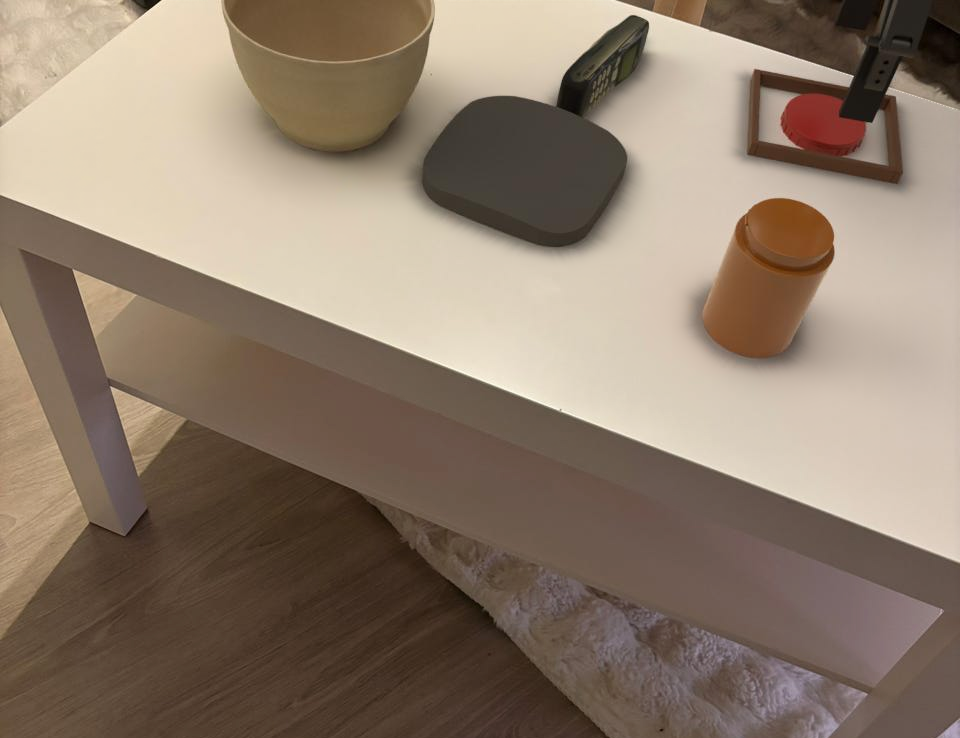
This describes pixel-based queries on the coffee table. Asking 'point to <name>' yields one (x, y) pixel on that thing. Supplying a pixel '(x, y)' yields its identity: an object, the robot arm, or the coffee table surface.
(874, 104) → the robot arm
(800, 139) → the lid
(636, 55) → the mobile phone
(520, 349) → the coffee table surface
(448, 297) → the coffee table surface
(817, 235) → the jar
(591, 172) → the media streaming box
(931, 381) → the coffee table surface
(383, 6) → the planter bowl
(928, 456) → the coffee table surface
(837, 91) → the picture frame
